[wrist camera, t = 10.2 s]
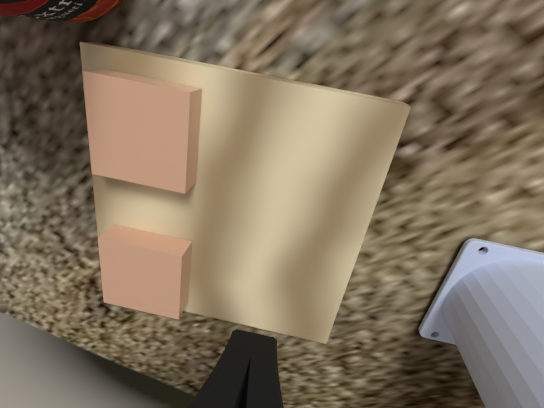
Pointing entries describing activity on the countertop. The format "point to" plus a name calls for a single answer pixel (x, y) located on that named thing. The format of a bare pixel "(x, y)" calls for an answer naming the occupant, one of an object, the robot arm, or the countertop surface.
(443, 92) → the countertop surface
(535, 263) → the robot arm
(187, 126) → the tile
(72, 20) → the canned food
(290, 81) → the board
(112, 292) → the tile
